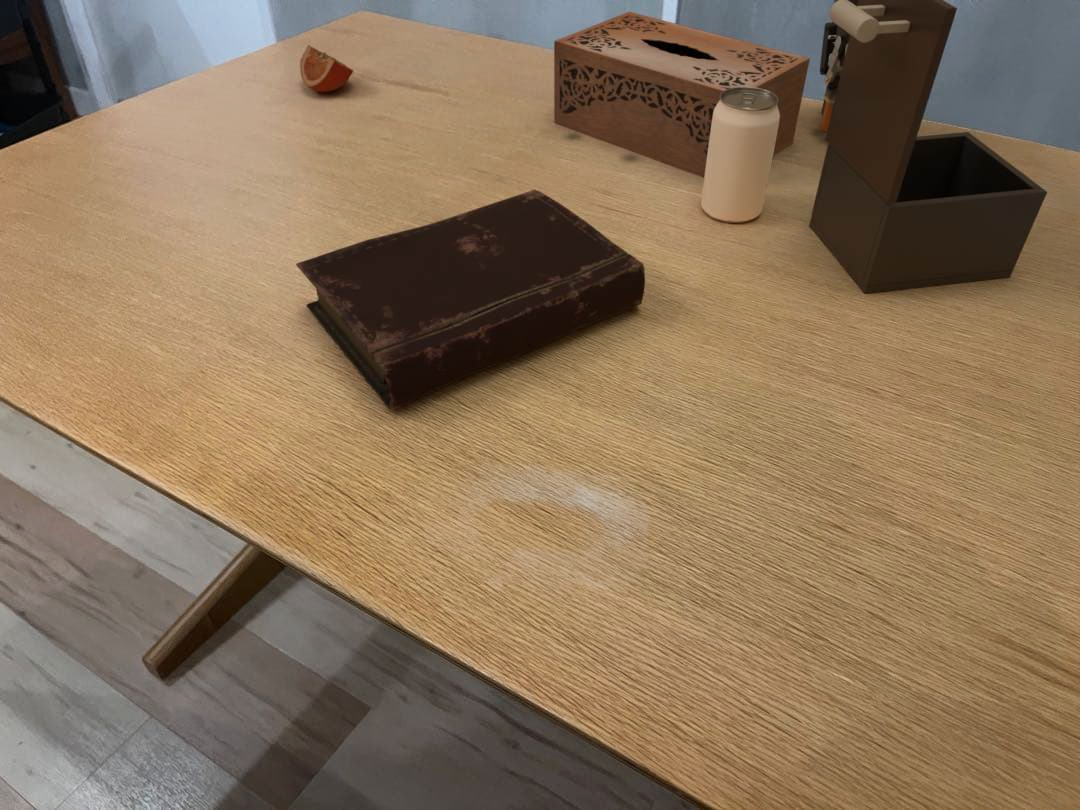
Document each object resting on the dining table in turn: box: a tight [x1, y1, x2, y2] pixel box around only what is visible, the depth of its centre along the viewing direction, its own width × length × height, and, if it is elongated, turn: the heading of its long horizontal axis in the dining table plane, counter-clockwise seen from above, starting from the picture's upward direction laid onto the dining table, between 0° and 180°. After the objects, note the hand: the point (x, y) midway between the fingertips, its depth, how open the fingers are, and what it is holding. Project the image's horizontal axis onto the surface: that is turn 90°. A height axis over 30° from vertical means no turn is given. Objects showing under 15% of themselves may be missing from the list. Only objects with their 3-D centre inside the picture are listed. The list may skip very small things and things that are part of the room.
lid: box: [825, 0, 958, 203], centre depth 68 cm, size 15×13×5 cm
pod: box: [820, 88, 837, 133], centre depth 101 cm, size 5×5×4 cm
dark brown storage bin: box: [808, 131, 1048, 294], centre depth 78 cm, size 15×13×9 cm
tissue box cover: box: [553, 11, 811, 178], centre depth 98 cm, size 26×14×10 cm, turn 47°
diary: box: [295, 189, 646, 411], centre depth 73 cm, size 19×25×5 cm
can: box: [700, 87, 780, 224], centre depth 83 cm, size 6×6×12 cm
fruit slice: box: [299, 44, 354, 93], centre depth 112 cm, size 8×7×5 cm
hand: (839, 124), depth 102 cm, fingers closed on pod, 5 cm apart
